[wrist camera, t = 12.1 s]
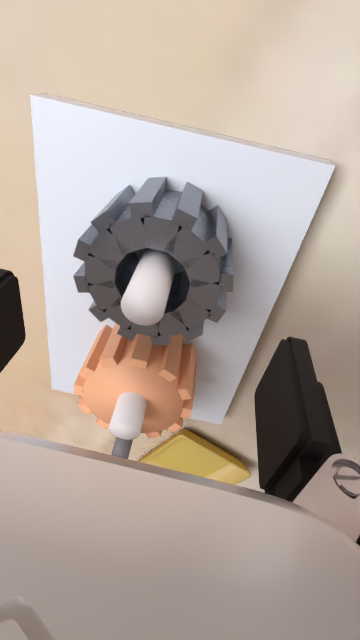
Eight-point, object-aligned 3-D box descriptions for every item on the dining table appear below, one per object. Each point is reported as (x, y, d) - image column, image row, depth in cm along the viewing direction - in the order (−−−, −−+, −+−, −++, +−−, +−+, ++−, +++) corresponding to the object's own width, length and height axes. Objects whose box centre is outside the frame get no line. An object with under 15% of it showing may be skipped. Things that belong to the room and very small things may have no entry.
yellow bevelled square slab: (183, 414, 30) (181, 435, 28) (252, 455, 32) (254, 476, 31) (132, 451, 34) (127, 470, 33) (196, 484, 37) (194, 504, 35)
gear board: (45, 93, 16) (-75, 105, 10) (327, 159, 16) (392, 213, 10) (59, 375, 28) (10, 463, 22) (220, 410, 28) (219, 507, 22)
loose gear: (103, 162, 16) (72, 183, 13) (249, 195, 16) (255, 225, 13) (97, 288, 20) (73, 327, 17) (213, 313, 20) (210, 357, 17)
